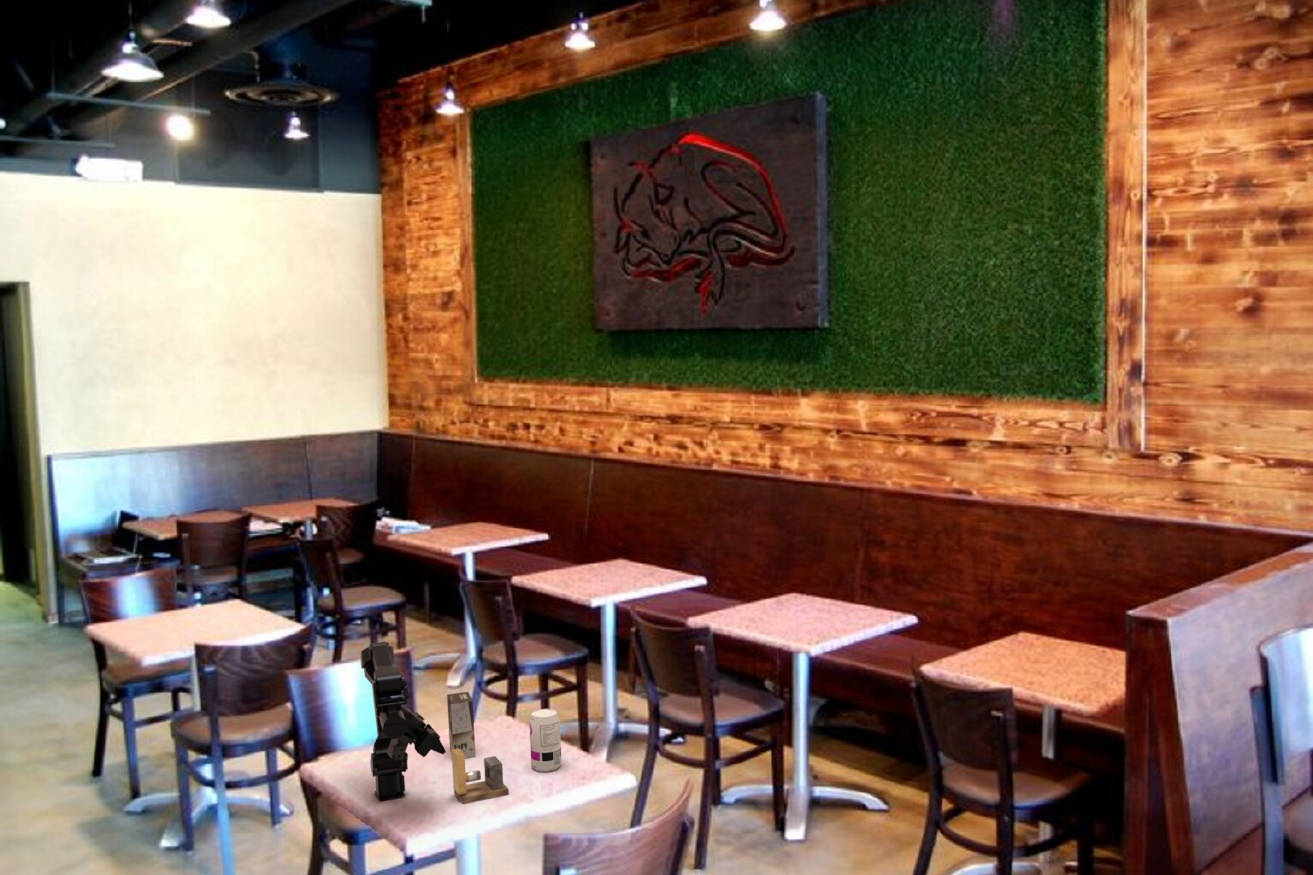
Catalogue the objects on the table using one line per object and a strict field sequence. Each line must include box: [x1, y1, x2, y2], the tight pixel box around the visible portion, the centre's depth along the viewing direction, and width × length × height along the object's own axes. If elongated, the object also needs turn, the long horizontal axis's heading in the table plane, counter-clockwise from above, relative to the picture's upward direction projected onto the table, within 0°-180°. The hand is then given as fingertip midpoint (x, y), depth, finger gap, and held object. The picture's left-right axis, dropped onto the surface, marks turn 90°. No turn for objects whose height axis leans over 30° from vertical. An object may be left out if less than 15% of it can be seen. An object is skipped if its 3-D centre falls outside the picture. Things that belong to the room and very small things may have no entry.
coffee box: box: [446, 691, 476, 759], centre depth 334 cm, size 9×6×16 cm
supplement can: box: [528, 708, 562, 773], centre depth 322 cm, size 8×8×15 cm
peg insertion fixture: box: [453, 755, 510, 804], centre depth 305 cm, size 12×8×8 cm, turn 115°
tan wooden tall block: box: [451, 749, 482, 795], centre depth 303 cm, size 6×5×10 cm
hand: (444, 752), depth 300 cm, fingers closed
